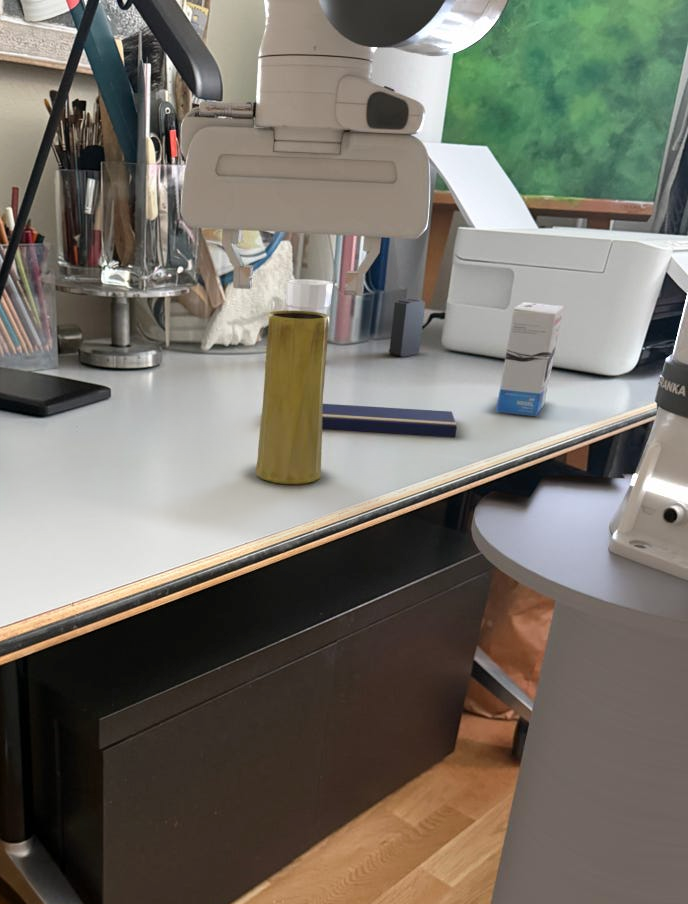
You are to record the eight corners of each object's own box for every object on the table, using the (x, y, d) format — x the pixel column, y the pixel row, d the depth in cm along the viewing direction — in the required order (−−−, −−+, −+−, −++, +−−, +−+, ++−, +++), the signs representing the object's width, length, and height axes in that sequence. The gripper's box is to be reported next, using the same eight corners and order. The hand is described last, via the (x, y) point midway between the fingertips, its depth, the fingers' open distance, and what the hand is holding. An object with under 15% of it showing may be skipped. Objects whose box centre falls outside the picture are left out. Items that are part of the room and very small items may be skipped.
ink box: (537, 418, 110) (556, 312, 104) (494, 412, 111) (511, 308, 106) (546, 403, 117) (565, 304, 111) (505, 398, 118) (522, 300, 113)
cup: (291, 355, 141) (296, 278, 136) (332, 360, 139) (339, 281, 134) (274, 362, 136) (278, 282, 131) (316, 367, 134) (323, 286, 129)
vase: (304, 489, 83) (317, 322, 77) (243, 477, 86) (250, 315, 79) (331, 472, 88) (345, 313, 81) (272, 462, 91) (282, 307, 84)
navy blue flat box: (450, 421, 107) (452, 410, 106) (455, 437, 101) (457, 425, 100) (276, 410, 109) (277, 399, 109) (271, 425, 103) (271, 413, 103)
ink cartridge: (407, 351, 147) (413, 298, 143) (419, 354, 146) (425, 299, 142) (388, 355, 144) (394, 300, 140) (400, 357, 142) (406, 302, 139)
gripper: (174, 97, 72) (170, 288, 78) (445, 107, 69) (418, 303, 76) (188, 102, 77) (184, 279, 84) (439, 111, 75) (415, 293, 81)
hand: (297, 291), depth 80 cm, fingers open, 8 cm apart
